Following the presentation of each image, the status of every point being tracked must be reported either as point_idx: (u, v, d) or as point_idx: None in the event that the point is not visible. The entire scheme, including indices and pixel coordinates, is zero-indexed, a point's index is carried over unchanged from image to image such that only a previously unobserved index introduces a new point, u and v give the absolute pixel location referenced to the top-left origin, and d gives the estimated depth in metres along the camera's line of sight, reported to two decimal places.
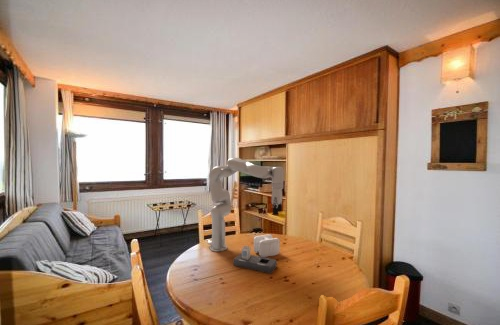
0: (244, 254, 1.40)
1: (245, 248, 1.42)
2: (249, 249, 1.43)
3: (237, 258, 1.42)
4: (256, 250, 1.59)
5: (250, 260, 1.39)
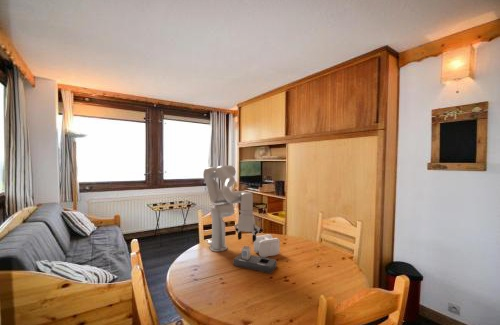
0: (244, 254, 1.40)
1: (245, 248, 1.42)
2: (249, 249, 1.43)
3: (237, 258, 1.42)
4: (256, 250, 1.59)
5: (250, 260, 1.39)
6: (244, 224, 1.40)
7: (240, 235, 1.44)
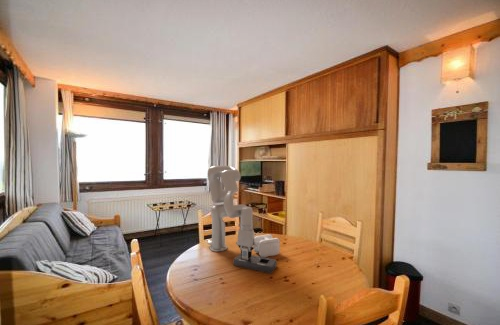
0: (244, 254, 1.40)
1: (245, 248, 1.42)
2: None
3: (237, 258, 1.42)
4: (256, 250, 1.59)
5: (250, 260, 1.39)
6: (244, 239, 1.40)
7: None
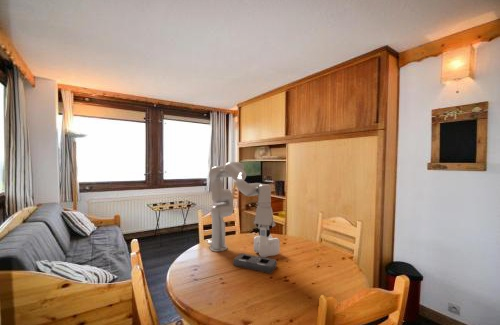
0: (262, 233, 1.35)
1: (263, 227, 1.36)
2: None
3: (237, 258, 1.42)
4: (256, 250, 1.59)
5: (250, 260, 1.39)
6: (262, 217, 1.35)
7: None
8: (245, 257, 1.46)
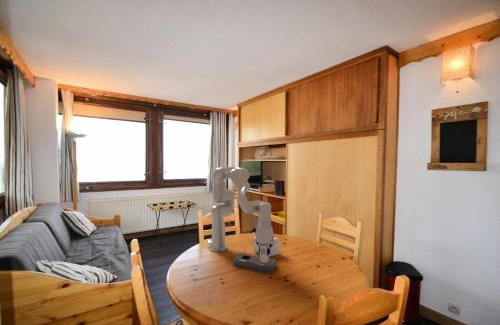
0: (263, 252, 1.35)
1: (263, 245, 1.36)
2: None
3: (237, 258, 1.42)
4: (256, 250, 1.59)
5: (250, 260, 1.39)
6: (262, 236, 1.35)
7: None
8: (245, 257, 1.46)
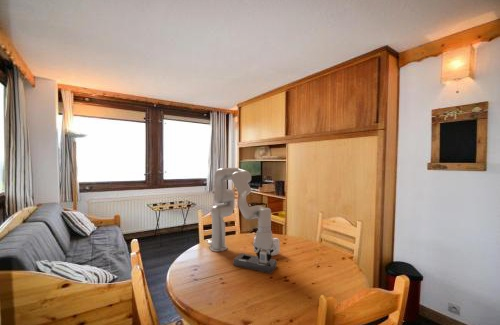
0: (262, 258, 1.35)
1: (263, 251, 1.37)
2: (267, 252, 1.38)
3: (237, 258, 1.42)
4: (256, 250, 1.59)
5: (250, 260, 1.39)
6: (262, 241, 1.35)
7: None
8: (245, 257, 1.46)
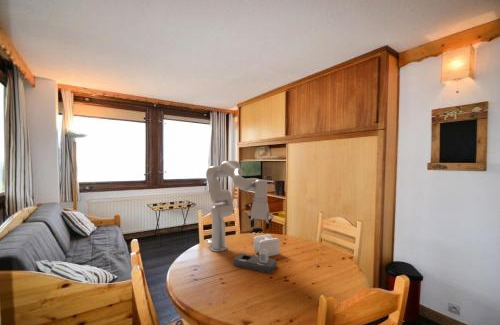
0: (262, 258, 1.35)
1: (263, 251, 1.37)
2: (267, 252, 1.38)
3: (237, 258, 1.42)
4: (256, 250, 1.59)
5: (250, 260, 1.39)
6: (258, 212, 1.38)
7: (253, 222, 1.43)
8: (245, 257, 1.46)
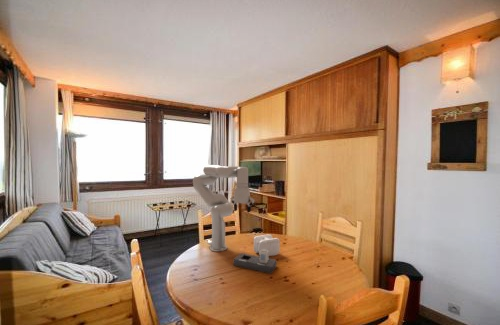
0: (262, 258, 1.35)
1: (263, 251, 1.37)
2: (267, 252, 1.38)
3: (237, 258, 1.42)
4: (256, 250, 1.59)
5: (250, 260, 1.39)
6: (240, 196, 1.50)
7: (236, 207, 1.55)
8: (245, 257, 1.46)
